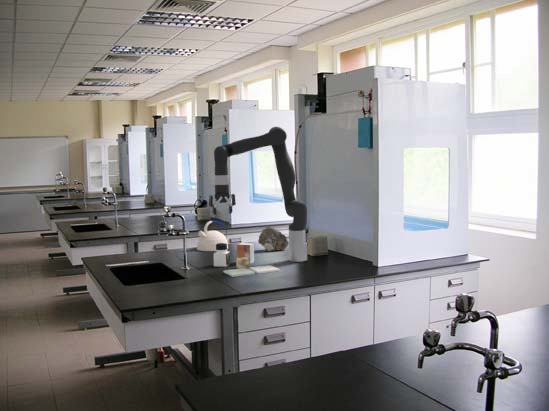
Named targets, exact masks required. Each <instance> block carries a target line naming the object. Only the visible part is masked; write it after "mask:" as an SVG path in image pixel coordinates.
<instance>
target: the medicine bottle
mask: <svg viewBox="0 0 549 411" xmlns="http://www.w3.org/2000/svg"><path fill="white" fill-rule="evenodd" d="M230 253H231V251H228V249H227V244H226V243H218V244H216V251H214V253H213V267H221V268H222V267H225V268H226V267H228V266H229V265H230V264H231V254H230Z"/></svg>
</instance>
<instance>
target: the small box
mask: <svg viewBox="0 0 549 411" xmlns="http://www.w3.org/2000/svg"><path fill="white" fill-rule="evenodd" d="M244 257H245V258H248V259H249V265H251V264H253V263H255V243H247V242H246V243H244V242H241V243H237V244H236V258H244Z"/></svg>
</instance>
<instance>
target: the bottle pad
mask: <svg viewBox="0 0 549 411" xmlns="http://www.w3.org/2000/svg"><path fill="white" fill-rule="evenodd" d="M223 273H224V274H226V275H228V276H229V277H231V278H234V277H235V278H236V277H242V276H244V277H245V276H252V275H256V272H253V271H251V270H249V268H241V269H239V268H235V269H234V268H233V269H225V270H223Z"/></svg>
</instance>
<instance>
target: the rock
mask: <svg viewBox="0 0 549 411" xmlns="http://www.w3.org/2000/svg"><path fill="white" fill-rule="evenodd" d="M257 242H258V244H259V245H261V246H262V247H264V249H265V250H266V251H267V252H274V251H278V250H279V251H285V250H286V249H287V247H289V240H288V238H287V237H286V235H285V234H283V233H282V231H280V230H277V229H275V228H273V227H271V226H268V227H266V228H264V229H262V231H261V233H260V234H259V236H258V240H257Z"/></svg>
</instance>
